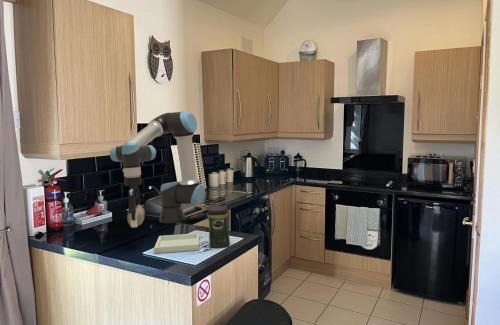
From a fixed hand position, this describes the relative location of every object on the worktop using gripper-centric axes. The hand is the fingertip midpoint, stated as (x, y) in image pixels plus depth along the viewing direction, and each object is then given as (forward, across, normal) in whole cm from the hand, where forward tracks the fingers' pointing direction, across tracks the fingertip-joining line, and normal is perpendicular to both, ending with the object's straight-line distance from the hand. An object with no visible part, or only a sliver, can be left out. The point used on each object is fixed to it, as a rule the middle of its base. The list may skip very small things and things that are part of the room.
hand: (136, 224), depth 179 cm
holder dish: (+11, +3, +19) cm, 22 cm away
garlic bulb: (+1, 0, 0) cm, 1 cm away
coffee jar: (+12, +7, +38) cm, 40 cm away
